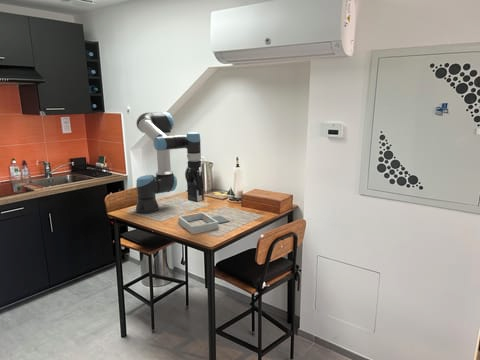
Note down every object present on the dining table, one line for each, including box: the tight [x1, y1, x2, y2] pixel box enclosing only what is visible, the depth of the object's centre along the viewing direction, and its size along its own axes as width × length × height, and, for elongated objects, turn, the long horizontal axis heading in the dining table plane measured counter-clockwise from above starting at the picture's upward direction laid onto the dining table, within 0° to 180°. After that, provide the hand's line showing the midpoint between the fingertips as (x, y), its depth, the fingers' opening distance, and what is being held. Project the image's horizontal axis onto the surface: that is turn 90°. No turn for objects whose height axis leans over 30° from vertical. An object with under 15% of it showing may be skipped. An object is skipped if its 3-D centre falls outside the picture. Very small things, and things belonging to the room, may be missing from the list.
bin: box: [177, 211, 220, 235], centre depth 203 cm, size 22×16×4 cm
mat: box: [210, 214, 230, 225], centre depth 212 cm, size 12×10×1 cm
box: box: [186, 180, 205, 203], centre depth 199 cm, size 8×6×11 cm
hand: (195, 198), depth 200 cm, fingers closed on box, 9 cm apart
